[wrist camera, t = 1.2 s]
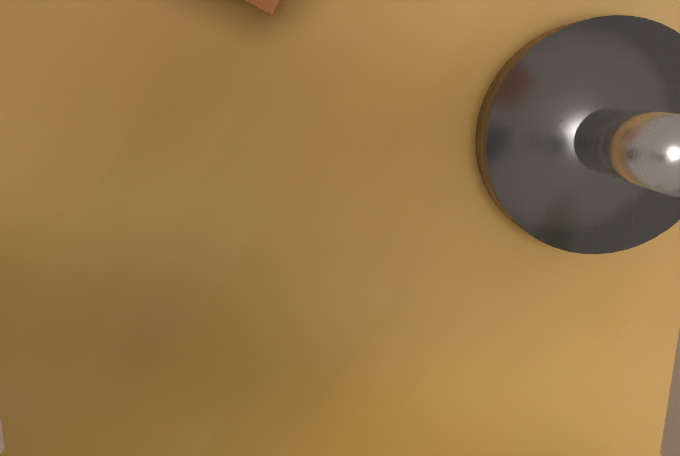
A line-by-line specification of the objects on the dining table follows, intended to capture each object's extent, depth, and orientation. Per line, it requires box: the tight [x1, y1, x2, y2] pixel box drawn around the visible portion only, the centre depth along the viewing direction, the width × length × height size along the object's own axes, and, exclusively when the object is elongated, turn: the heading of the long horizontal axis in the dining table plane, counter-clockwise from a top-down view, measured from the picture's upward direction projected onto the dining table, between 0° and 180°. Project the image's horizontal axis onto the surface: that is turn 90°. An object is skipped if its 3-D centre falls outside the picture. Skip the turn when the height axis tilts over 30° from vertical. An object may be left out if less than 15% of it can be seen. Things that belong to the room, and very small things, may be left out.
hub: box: [476, 15, 680, 254], centre depth 28 cm, size 12×12×10 cm
